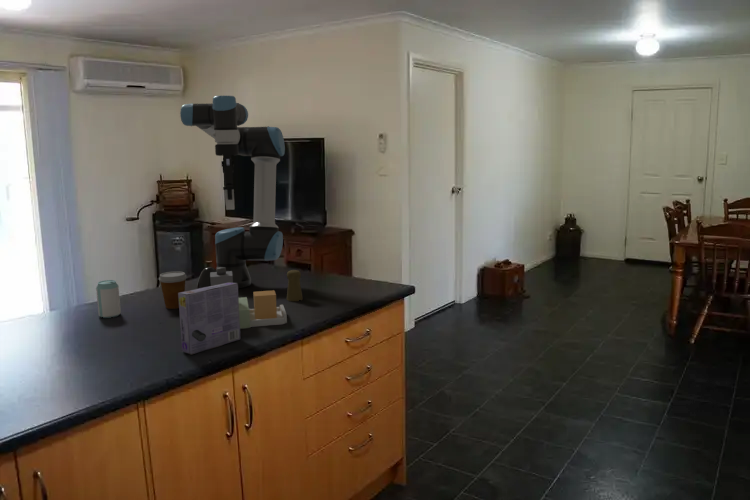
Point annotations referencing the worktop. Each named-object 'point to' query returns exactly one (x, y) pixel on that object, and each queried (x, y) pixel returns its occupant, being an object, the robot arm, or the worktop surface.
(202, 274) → the pump dispenser
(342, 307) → the worktop surface
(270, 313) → the cardboard box
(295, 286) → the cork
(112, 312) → the can
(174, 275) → the disposable coffee cup
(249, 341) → the worktop surface
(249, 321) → the pale green boxy piece
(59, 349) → the worktop surface
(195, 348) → the cake pan box
